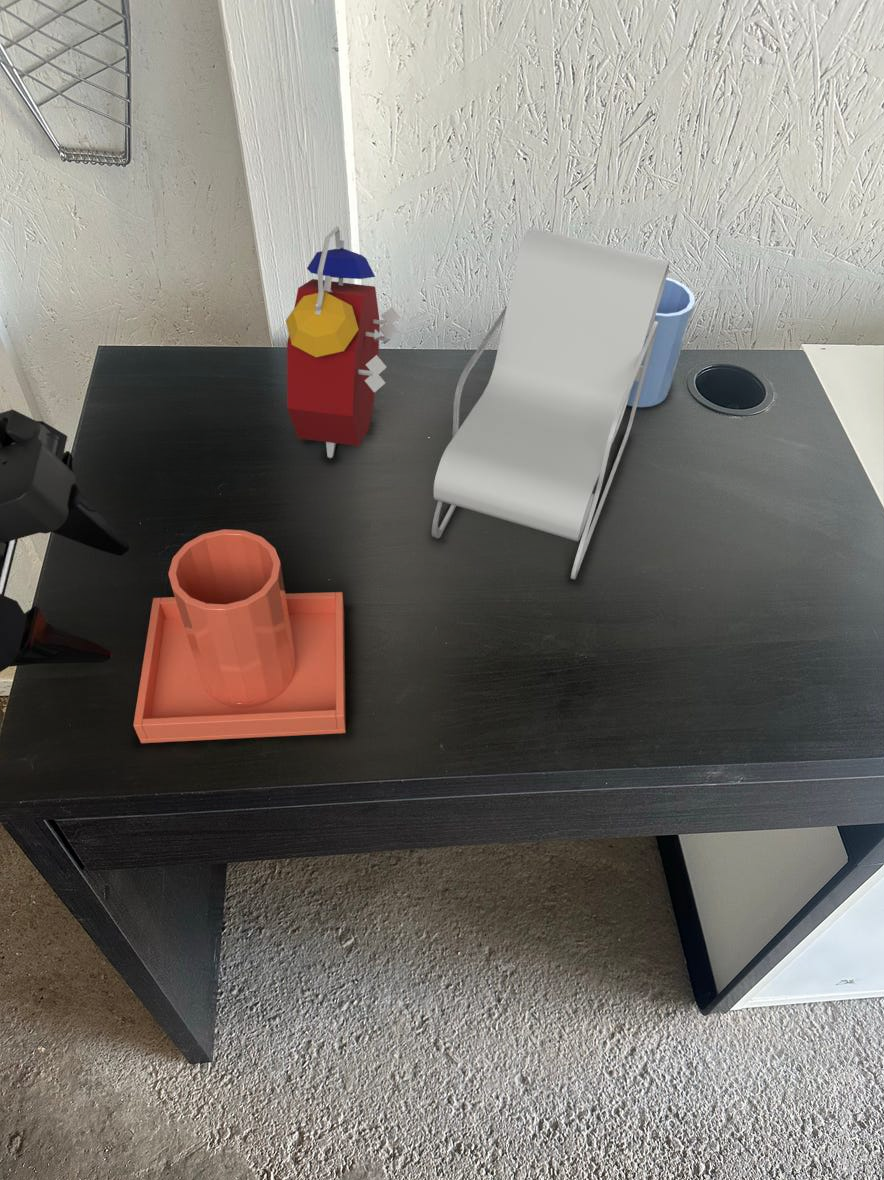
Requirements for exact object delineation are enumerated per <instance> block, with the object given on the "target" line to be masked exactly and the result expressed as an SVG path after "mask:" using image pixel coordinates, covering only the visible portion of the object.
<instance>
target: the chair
mask: <svg viewBox="0 0 884 1180" xmlns="http://www.w3.org/2000/svg"><path fill="white" fill-rule="evenodd" d="M516 258H517V259H516V262H515V267H514V271H513V275H512V280H511V285H510V288H509V289H510V290H509V293H508V294H509V295H508V299H507V304H506V305H505V307H504V308H503V310H502V312H501V313H500V314H499V316H498V318H497V319H496V320H495V322H494V324H493V325H492V326H491V328H490V330H489V331H488V333H487V334H486V335H485V337H484V338H483V340H482V341H481V343H480V344H479V346H478V347H477V349H476V350H475V352H474V353H473V355H472V356H471V358H470V359H469V361H468V362H467V364H466V365H465V367H464V368H463V371H462V373H461V375H460V376H459V379H458V382H457V385H456V389H455V393H454V394H455V395H454V398H453V412H452V439H451V440H450V442H449V443H448V445H447V446H446V448H445V450H444V451H443V453H442V456H441V458H440V461H439V464H438V467H437V470H436V474H435V478H434V482H433V499H434V500H435V501H437V504H436V506H435V507H436V508H435V511H434V516H433V518H432V519H433V520H432V526H431V536H432V537H433V538H435V539H440V538H441V537H442V535H443V532H445V529H446V527H447V525H448V524H449V522H450V519H451V517H452V516H453V513H454V511H455V510H456V508H457V507H459V508H463V509H466V510H468V511H471V512H475V513H480V514H483V515H487V516H489V517H493V518H497V519H500V520H503V521H507V522H510V523H513V524H517V525H520V526H525V527H527V528H530V529H533V530H536V531H541V532H544V533H547V534H550V535H554V536H557V537H562V538H565V539H568V540H571V541H574V542H579V541H580V542H579V545H578V549H577V552H576V555H575V559H574V562H573V566H572V569H571V574H570V579H571V580H576V579H577V576H578V574H579V571H580V568H581V566H582V564H583V560H584V558H585V555H586V553H587V550H588V547H589V544H590V541H591V539H592V536H593V533H594V531H595V528H596V525H597V522H598V520H599V518H600V515H601V512H602V510H603V507H604V504H605V501H606V499H607V496H608V494H609V490H610V488H611V485H612V482H613V480H614V477H615V474H616V471H617V469H618V466H619V463H620V461H621V458H622V457H623V456H622V455H623V453H624V450H625V448H626V445H627V442H628V439H629V436H630V434H631V430H632V427H633V423H634V420H635V415H636V411H637V408H638V407H637V404H638V400H639V397H640V393H641V389H642V385H643V381H644V378H645V374H646V370H647V366H648V362H649V359H650V355H651V351H652V347H653V343H654V339H655V335H656V331H657V327H658V322H657V321H654V318H655V315H656V312H657V309H658V306H659V303H660V300H661V296H662V293H663V289H664V286H665V282H666V278H668V274H669V270H670V266H671V265H670V264H671V261H670V260H667V259H663V258H658V257H654V256H650V255H647V254H642V253H638V252H634V251H630V250H625V249H622V248H618V247H613V246H610V245H605V244H602V243H597V242H593V241H589V240H585V239H581V238H577V237H572V236H569V235H566V234H565V235H564V234H560V233H556V232H552V231H548V230H544V229H539V228H536V227H532V226H530V227H528V228H527V230H526V232H525V234H524V236H523V239H522V242H521V244H520V248H519V251H518V254H517V257H516ZM653 321H654V323H653ZM652 324H653V325H652ZM501 325H502V328H501V332H500V337H499V341H498V347H497V352H496V356H495V362H494V365H493V369H492V372H491V376H490V378H489V380H488V383H487V386H486V387H485V389H484V391H483V392H482V394H481V396H480V397H479V399H478V400H477V402H476V403H475V405H474V406H473V407H472V409H471V411H470V412H469V413H468V415H467V417H466V418H465V420H464V421H463V423H462V424H461V425H460V426H459V423H460V405H461V397H462V393H463V389H464V385H465V383H466V380H467V378H468V376H469V375H470V372H471V371H472V369H473V368H474V366H475V365H476V363H477V362H478V360H479V359H480V357H481V355H482V354H483V352H484V351H485V350H486V348H487V347H488V345H489V343H490V342H491V340H492V339H493V337H494V336H495V334H496V332H497V331H498V330H499V328H500V326H501ZM651 326H652V328H651ZM650 329H651V330H650ZM649 331H650V333H649ZM648 334H649V335H648ZM647 336H648V337H647ZM646 337H647V340H646V342H645V338H646ZM644 342H645V345H644ZM643 345H644V347H643ZM647 349H648V350H647ZM646 352H647V354H646ZM645 354H646V358H645V362H644V366H641V364H642V362H643V359H644V357H645ZM642 368H643V370H642ZM641 372H642V374H641ZM640 376H641V377H640ZM639 380H640V381H639ZM634 381H637V382H639V385H638V389H637V393H636V397H635V401H634V404H633V406H632V407H631V412H630V417H629V421H628V424H627V427H626V431H625V434H624V437H623V438H622V442H621V445H620V448H619V450H618V452H617V455H616V458H615V461H614V463H613V466H612V469H611V471H610V474H609V477H608V479H607V482H606V485H605V487H604V490H603V492H602V495H601V497H600V494H601V490H602V487H603V482H604V479H605V475H606V470H607V465H608V462H609V457H610V453H611V448H612V446H613V443H614V441H615V438H616V436H617V434H618V431H619V428H620V426H621V423H622V421H623V417H624V415H625V412H626V408H627V406H628V405H627V402H628V398H629V395H630V391H631V389H632V386H633V384H634ZM595 486H596V489H595ZM594 489H595V492H594ZM593 492H594V493H593ZM599 498H600V500H599ZM598 500H599V502H598ZM443 503H445V504H449V505H450V506H449V509H448V510H447V512H446V514H445V516H444V517H443V520H442V521H441V524H440V526H439V522H440V514H441V511H442V507H443ZM597 505H598V506H597ZM596 507H597V508H596ZM595 511H596V512H595Z"/></svg>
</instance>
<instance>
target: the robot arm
mask: <svg viewBox="0 0 884 1180" xmlns="http://www.w3.org/2000/svg"><path fill="white" fill-rule="evenodd" d="M67 441H68V435H66V434H65V433H63V432H61V431H60V430H58V429H56V428H55V427H53V426H52V425H50V424H48V423H47V422H45V421H41V420H36V419H34V418H31V417H29V416H27V415H25V414H23V413H21V412H19V411H17V410H15V409H9V410H6V411H3V412H0V673H2V672H4V671H5V670H6V669H8V668H10V667H19V666H20V667H21V666H28V665H44V664H45V665H46V664H100V663H101V664H102V663H105V662H107V661H109V660H111V659H112V657H113V652H112V651H110V650H109V649H108V648H106V647H104V646H102V645H100V644H98V643H97V642H94V641H92V640H89V639H87V638H85V637H82V636H80V635H78V634H75V633H72V632H70V631H68V630H65V629H64V628H60V627H59V626H58V627H57V626H56V625H53V624H51V623H49V622H48V621H47V620H46V618H45V617H44V615H43V614H42V611H41V610H40V608H39V607H38V606H37V605H35V606H33V607H32V608H30V609H28V610H27V611H26V612H25V611H24V610H23V609H22V607H21V605H20V603H19V601H17V600H15V599H13V598H11V597H8V596H6V590H7V586H8V582H9V577H10V573H11V569H12V565H13V562H14V557H15V553H16V548H17V544H18V542H19V541H18V540H19V539H22V538H27V537H29V536H33V535H37V534H49V533H53V534H55V535H58V536H61V537H64V538H65V539H69V540H71V541H74V542H77V543H80V544H82V545H84V546H86V547H90V548H93V549H95V550H97V551H102V552H103V553H108V554H111V555H116V556H121V557H122V556H124V555H125V554H127V553H128V552H129V550H130V545H129V543H128V542H126V541H125V539H123V537H122V536H121V535H120V534H119V533H118V532H117V531H116V530H115V529H114V527H112V526H111V524H110V523H109V522H107V520H106V519H105V518H104V517H103V516H102V515H101V514H100V513H99V512H98V511H97V510H96V508H94V505H92V504H91V502H89V500H88V499H87V498H86V497H85V495H84V494H83V493H82V491H81V490H80V489H79V488H78V486H77V484H76V474H75V473H74V468H73V460H74V458H73V455H72V453H71V452H70V450H65V449H66V445H67Z"/></svg>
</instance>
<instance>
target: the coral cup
mask: <svg viewBox="0 0 884 1180" xmlns="http://www.w3.org/2000/svg"><path fill="white" fill-rule="evenodd" d="M167 576H168V578H169V583H170V587H171V589H172V593H173V597H175V599H176V602H177V606H178V609H179V612H180V615H181V618H182V622H183V625H184V628H185V631H186V634H187V638H188V641H189V644H190V647H191V650H192V654H193V657H194V660H195V663H196V666H197V670H198V673H199V676H200V679H201V683H202V685H203V687H204V688H205V690H206V691H207V693H208V694H209V695H210V696H211V697H212V698H214V699H215V700H217V701H218V702H220V703H222V704H225V705H228V706H232V707H240V708H245V707H254V706H259V705H262V704H265V703H267V702H269V701H272V700H273V699H275V698H276V697H278V696H279V695H280V694H282V693H283V692H284V691H285V690H286V688H287V687H288V686H289V685H290V683H291V681H292V679H293V677H294V673H295V666H296V665H295V660H296V659H295V652H294V646H293V639H292V633H291V627H290V620H289V614H288V608H287V601H286V595H285V594H286V590H285V583H284V577H283V569H282V563H281V560H280V558H279V555H278V552H277V549H276V548H275V547H274V546H273V545H272V544H271V543H270V542H269V541H267V540H266V538H264V537H262V536H261V535H258V534H255V533H254V532H250V531H247V530H245V529H244V530H243V529H226V528H225V529H220V530H215V531H210V532H206V533H202V534H200V535H198V536H197V537H194V538H193V539H191V540H190V541H187V542H186V543H185V544H183V546H182V547H181V548H180V549H178V551H177V552H176V554H175V555H174V556H173V557H172V560H171V563H170V566H169V570H168V575H167Z"/></svg>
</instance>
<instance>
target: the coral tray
mask: <svg viewBox="0 0 884 1180" xmlns="http://www.w3.org/2000/svg"><path fill="white" fill-rule="evenodd" d="M285 595H286V601H287V608H288V614H289V620H290V627H291V633H292V639H293V646H294V652H295V659H296V660H295V665H296V666H295V673H294V677H293V679H292V681H291V683H290V685H289V686H288V687H287V688H286V690H285V691H284V692H283V693H282V694H280V695H279V696H278V697H276V698H275V699H273V700H272V701H269V702H267V703H265V704H262V705H259V706H254V707H245V708H240V707H232V706H228V705H225V704H222V703H220V702H218V701H217V700H215V699H214V698H212V697H211V696H210V695H209V694H208V693H207V691H206V690H205V688H204V687H203V685H202V683H201V679H200V676H199V673H198V670H197V666H196V663H195V660H194V657H193V654H192V650H191V647H190V644H189V641H188V638H187V634H186V631H185V628H184V625H183V622H182V618H181V615H180V612H179V609H178V606H177V602H176V599H175V596H170V597H169V596H167V597H166V596H165V597H153V598H152V603H151V610H150V615H149V616H150V617H149V623H148V628H147V634H146V642H145V648H144V655H143V661H142V667H141V675H140V679H139V686H138V692H137V700H136V705H135V712H134V720H133V725H132V726H133V728H134V730H135V732H136V735H137V737H138V740H139V741H140V743H141V744H151V743H168V742H169V743H171V742H174V743H175V742H191V741H194V742H195V741H212V740H232V739H251V738H253V739H255V738H270V737H271V738H274V737H275V738H276V737H291V736H292V737H293V736H313V735H333V734H335V735H336V734H346V729H347V728H346V727H347V726H346V673H345V672H346V666H345V665H346V664H345V663H346V661H345V660H346V659H345V657H346V655H345V653H346V652H345V651H346V650H345V607H344V606H345V605H344V593H343V592H342V591H336V592H335V591H334V592H333V591H331V592H329V591H328V592H301V593H300V592H296V593H295V592H294V593H285Z"/></svg>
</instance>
